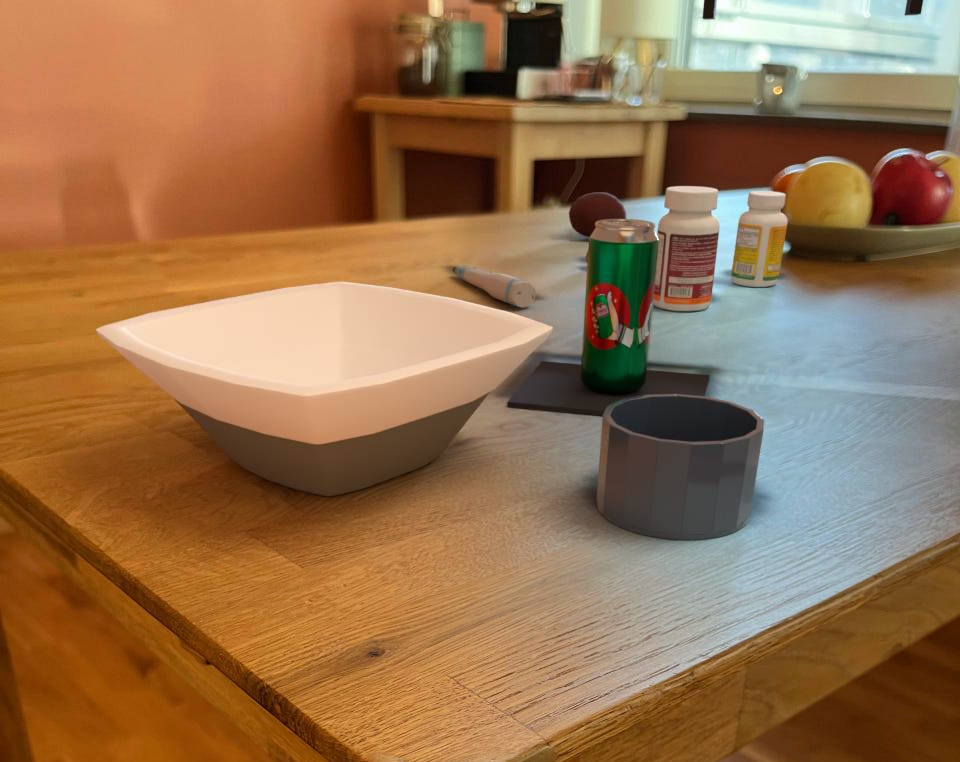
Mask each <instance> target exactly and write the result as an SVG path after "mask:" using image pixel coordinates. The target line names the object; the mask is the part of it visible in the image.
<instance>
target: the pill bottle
mask: <svg viewBox="0 0 960 762" xmlns="http://www.w3.org/2000/svg"><path fill="white" fill-rule="evenodd" d="M718 197H719V190H718V189H717V188H714V187H708V186H696V185H695V186H694V185H676V186H675V185H674V186H669V187H667V188H666V189H665V196H664V198H665V199H664V203H663V207H664V208H665V209H668V210H669V211H668V213H666V214H664V215H663V216H662V217H661V218H660V219H659V221H658V225H657V232H656V235H657V237H658V239H659V246H658V257H657V267H656V278H655V289H654V300H653V306H655V307H656V308H659V309H660V310H661V309H662V310H665V311H670V312H697V311H704V310H706V309H708V308H710V306H711V303H712V297H713V289H714V281H715V272H716V263H717V253H718V246H719V237H720V227H721V226H720V225H721V224H720V221H719V219H718V218H717V217H716V216H715V215H713V214H712V211H715V210H716V209H718Z"/></svg>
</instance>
